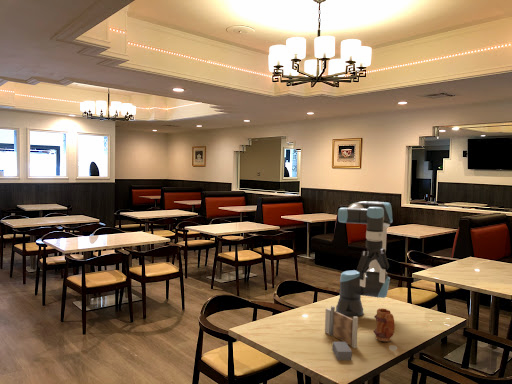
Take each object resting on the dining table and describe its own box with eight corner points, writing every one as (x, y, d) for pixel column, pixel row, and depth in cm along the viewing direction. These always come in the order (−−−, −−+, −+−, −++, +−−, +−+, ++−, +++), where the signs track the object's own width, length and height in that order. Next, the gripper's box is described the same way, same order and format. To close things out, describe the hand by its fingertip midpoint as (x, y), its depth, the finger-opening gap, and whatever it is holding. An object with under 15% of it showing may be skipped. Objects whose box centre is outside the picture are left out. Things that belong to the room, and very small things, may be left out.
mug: (370, 335, 202) (372, 305, 201) (387, 335, 203) (388, 305, 202) (382, 349, 188) (384, 316, 187) (399, 348, 188) (401, 316, 187)
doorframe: (324, 332, 205) (325, 304, 204) (327, 331, 206) (328, 304, 205) (353, 348, 188) (355, 317, 187) (356, 347, 189) (358, 317, 188)
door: (333, 335, 200) (334, 311, 199) (337, 334, 201) (338, 310, 201) (350, 345, 190) (351, 319, 189) (354, 344, 191) (356, 318, 190)
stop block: (332, 350, 186) (332, 341, 185) (345, 350, 186) (345, 341, 186) (337, 360, 176) (337, 351, 175) (351, 360, 176) (351, 351, 176)
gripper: (362, 243, 184) (360, 290, 185) (398, 239, 198) (396, 282, 199) (349, 240, 190) (347, 286, 192) (385, 236, 204) (383, 279, 205)
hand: (372, 284), depth 195 cm, fingers open, 13 cm apart
